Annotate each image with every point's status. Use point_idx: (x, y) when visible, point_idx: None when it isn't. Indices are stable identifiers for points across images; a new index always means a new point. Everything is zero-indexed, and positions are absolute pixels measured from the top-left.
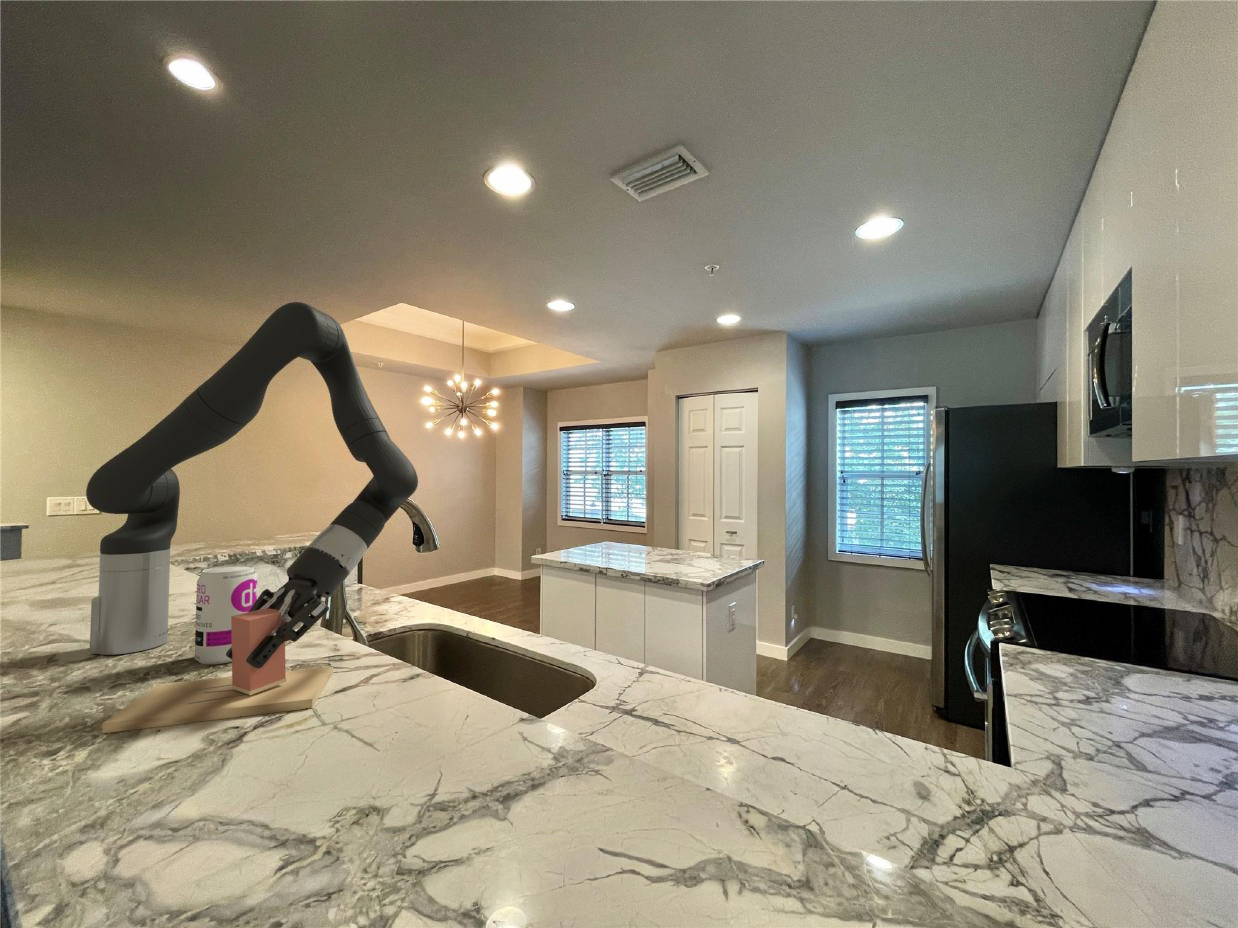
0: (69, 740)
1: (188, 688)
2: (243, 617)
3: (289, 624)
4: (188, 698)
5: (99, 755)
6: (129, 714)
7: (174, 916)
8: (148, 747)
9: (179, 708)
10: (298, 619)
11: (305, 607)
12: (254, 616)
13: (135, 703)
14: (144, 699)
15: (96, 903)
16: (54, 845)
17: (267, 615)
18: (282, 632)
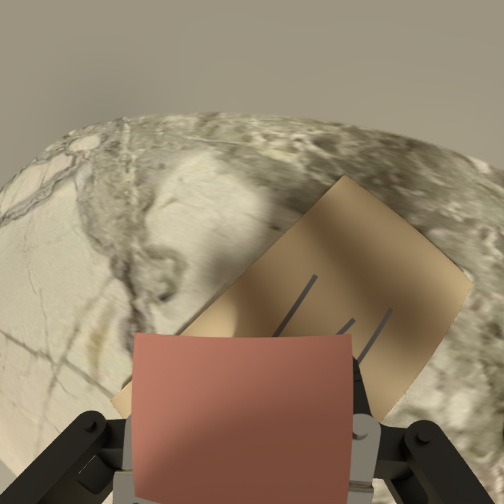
0: (351, 160)
1: (408, 308)
2: (235, 356)
3: (73, 439)
4: (348, 287)
5: (258, 165)
6: (351, 203)
7: (21, 170)
8: (222, 201)
9: (303, 257)
10: (45, 453)
11: (32, 498)
12: (189, 398)
13: (400, 225)
14: (410, 240)
15: (53, 147)
16: (117, 131)
17: (138, 435)
18: (89, 412)
